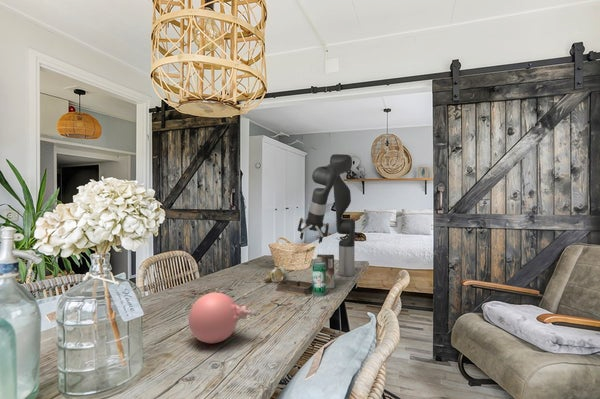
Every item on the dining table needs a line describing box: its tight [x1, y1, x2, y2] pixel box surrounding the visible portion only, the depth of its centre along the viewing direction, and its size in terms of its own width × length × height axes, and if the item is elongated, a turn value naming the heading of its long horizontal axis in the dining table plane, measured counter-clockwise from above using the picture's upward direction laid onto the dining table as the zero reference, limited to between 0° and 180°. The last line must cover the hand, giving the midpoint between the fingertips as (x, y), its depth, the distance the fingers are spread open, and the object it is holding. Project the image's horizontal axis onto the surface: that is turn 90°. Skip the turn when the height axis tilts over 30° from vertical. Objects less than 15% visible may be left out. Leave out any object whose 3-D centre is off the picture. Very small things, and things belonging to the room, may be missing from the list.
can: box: [311, 261, 327, 297], centre depth 156 cm, size 6×6×15 cm
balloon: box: [188, 292, 253, 344], centre depth 105 cm, size 15×20×15 cm
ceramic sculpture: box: [262, 265, 287, 283], centre depth 179 cm, size 11×9×15 cm
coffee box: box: [316, 254, 335, 289], centre depth 169 cm, size 9×6×16 cm
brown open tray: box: [275, 279, 312, 297], centre depth 162 cm, size 11×17×3 cm, turn 60°
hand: (310, 240), depth 157 cm, fingers open, 8 cm apart
